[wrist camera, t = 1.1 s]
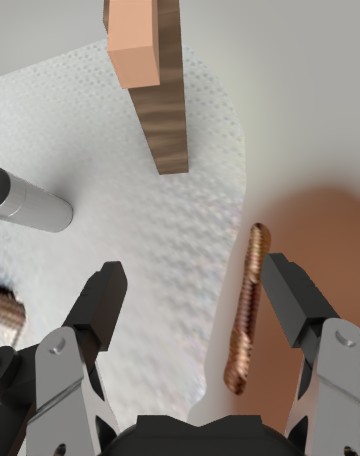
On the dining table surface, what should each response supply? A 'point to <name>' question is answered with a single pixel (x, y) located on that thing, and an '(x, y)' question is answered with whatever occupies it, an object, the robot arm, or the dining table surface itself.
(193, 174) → the dining table surface
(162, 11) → the stand
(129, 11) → the peach-coloured block
